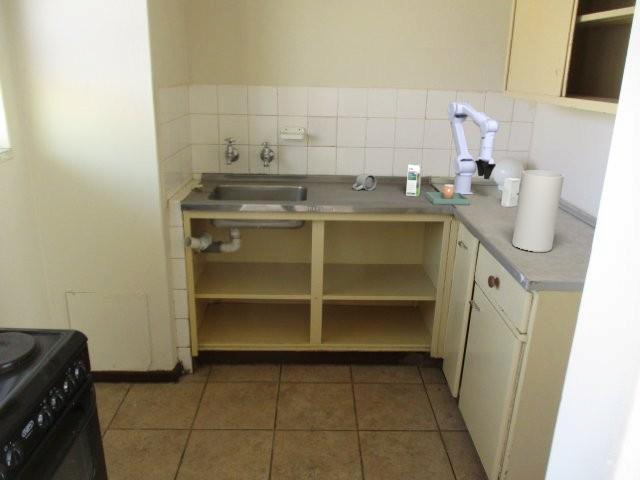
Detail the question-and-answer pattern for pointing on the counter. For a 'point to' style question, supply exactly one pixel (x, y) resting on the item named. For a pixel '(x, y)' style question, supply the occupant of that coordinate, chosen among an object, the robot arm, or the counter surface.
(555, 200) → the cylinder vase
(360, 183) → the ceramic mug
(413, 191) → the syrup box
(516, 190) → the skincare box
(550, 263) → the counter surface
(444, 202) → the tray
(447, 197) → the salt shaker
